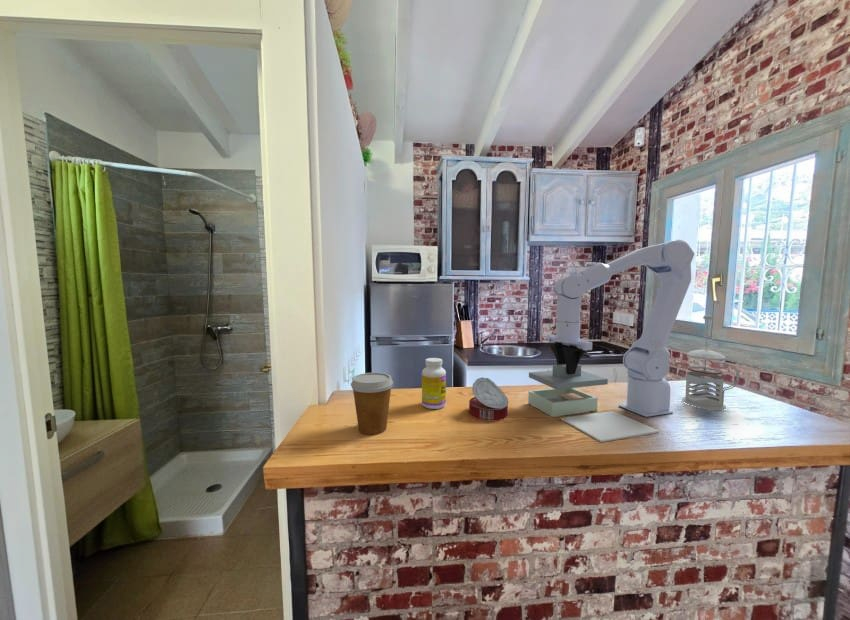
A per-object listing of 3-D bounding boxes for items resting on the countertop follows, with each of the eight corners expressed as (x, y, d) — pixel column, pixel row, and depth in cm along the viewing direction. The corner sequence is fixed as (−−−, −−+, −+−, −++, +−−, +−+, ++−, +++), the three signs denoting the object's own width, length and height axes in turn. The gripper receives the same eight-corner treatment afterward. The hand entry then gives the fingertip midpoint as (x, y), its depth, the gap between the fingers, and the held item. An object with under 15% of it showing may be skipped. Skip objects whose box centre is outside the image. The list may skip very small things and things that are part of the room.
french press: (679, 395, 94) (683, 313, 92) (732, 403, 87) (737, 314, 86) (681, 405, 86) (686, 315, 84) (741, 415, 79) (746, 317, 78)
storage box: (569, 398, 92) (569, 386, 91) (597, 410, 82) (597, 397, 82) (528, 403, 88) (528, 391, 87) (552, 416, 78) (552, 403, 78)
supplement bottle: (444, 410, 82) (444, 362, 81) (419, 409, 84) (419, 361, 83) (447, 402, 89) (447, 357, 88) (424, 400, 90) (424, 356, 89)
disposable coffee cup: (400, 423, 74) (399, 373, 74) (381, 441, 65) (381, 385, 65) (364, 418, 78) (364, 370, 77) (342, 434, 69) (342, 381, 68)
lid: (574, 373, 91) (575, 358, 90) (607, 384, 80) (608, 368, 80) (528, 377, 86) (529, 362, 86) (556, 389, 76) (557, 372, 75)
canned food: (496, 423, 85) (513, 391, 85) (502, 437, 75) (521, 400, 75) (459, 403, 87) (476, 371, 86) (460, 413, 76) (479, 377, 76)
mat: (612, 412, 81) (612, 410, 81) (658, 432, 69) (658, 430, 69) (561, 419, 76) (561, 418, 76) (601, 442, 65) (601, 440, 65)
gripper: (537, 319, 88) (537, 367, 89) (575, 324, 74) (574, 381, 75) (559, 319, 90) (558, 365, 91) (599, 324, 76) (598, 378, 77)
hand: (566, 372), depth 83 cm, fingers closed on lid, 2 cm apart
